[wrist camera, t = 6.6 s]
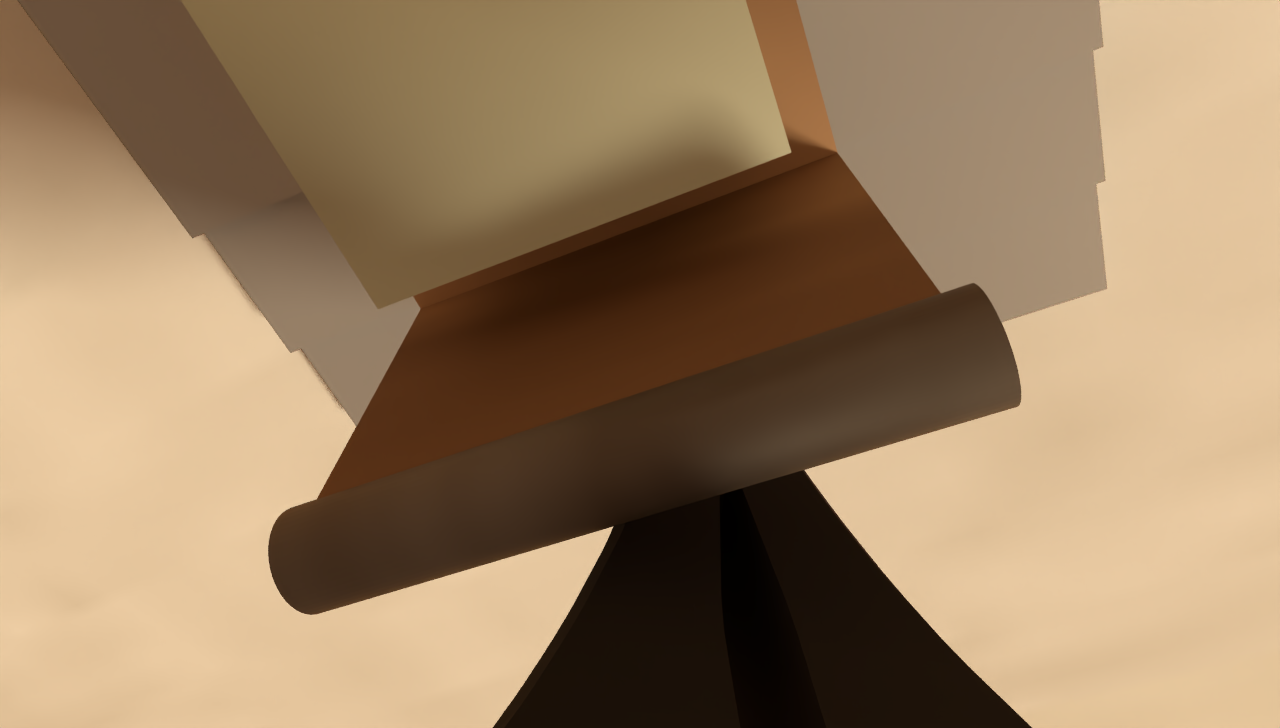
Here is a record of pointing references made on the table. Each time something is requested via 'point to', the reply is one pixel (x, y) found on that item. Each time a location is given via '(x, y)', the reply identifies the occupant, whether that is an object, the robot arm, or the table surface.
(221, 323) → the table surface
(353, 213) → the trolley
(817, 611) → the robot arm
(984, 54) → the dock
